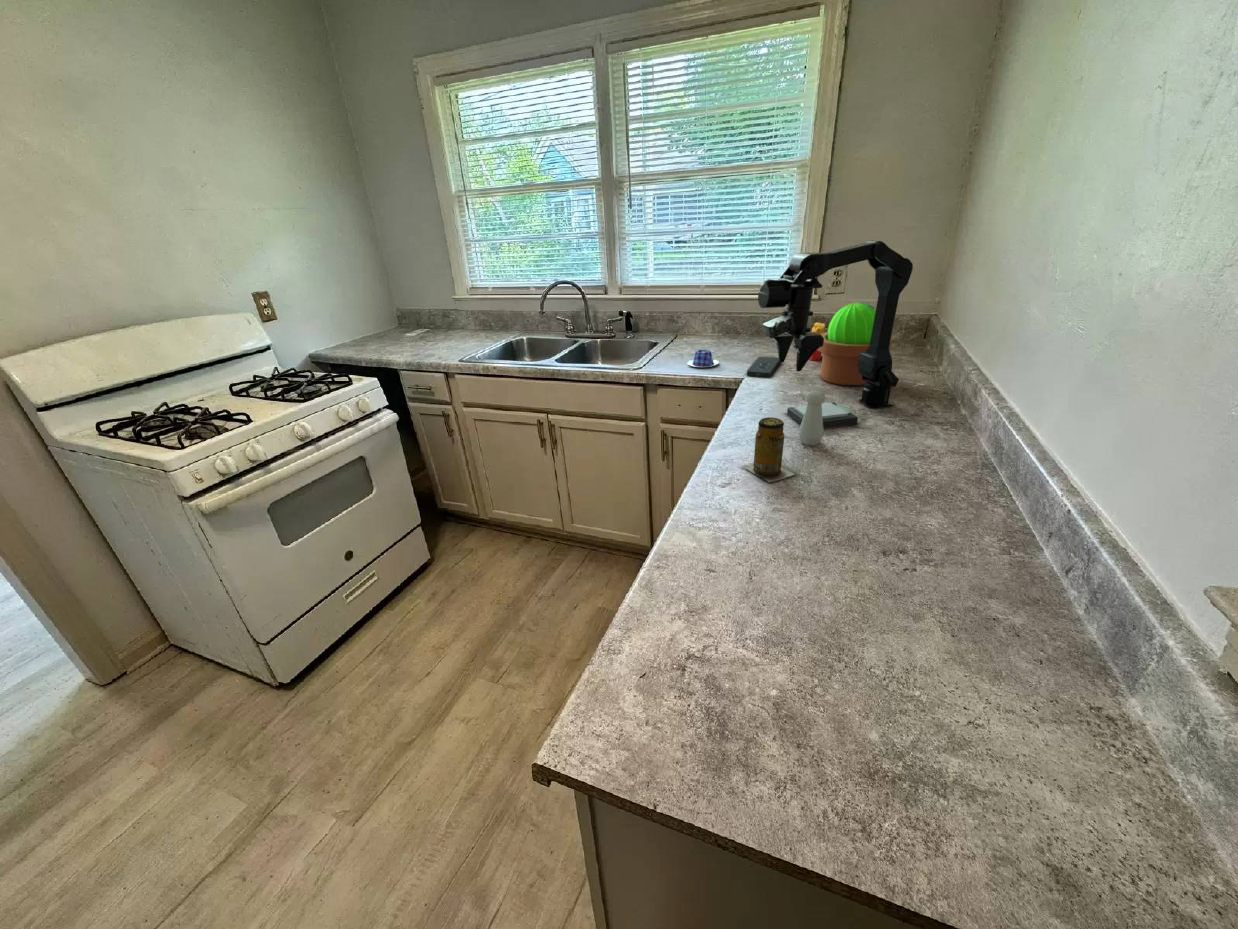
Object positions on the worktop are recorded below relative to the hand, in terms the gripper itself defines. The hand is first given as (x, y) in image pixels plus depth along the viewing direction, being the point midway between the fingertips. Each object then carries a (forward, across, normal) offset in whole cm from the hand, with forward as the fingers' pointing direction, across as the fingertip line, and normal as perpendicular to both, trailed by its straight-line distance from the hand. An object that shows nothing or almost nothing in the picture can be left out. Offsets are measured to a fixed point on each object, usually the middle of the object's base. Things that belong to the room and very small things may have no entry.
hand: (789, 366), depth 133 cm
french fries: (+12, -50, +39) cm, 64 cm away
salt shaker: (+15, +18, -2) cm, 23 cm away
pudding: (+15, -58, -2) cm, 60 cm away
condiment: (+16, +29, -18) cm, 38 cm away
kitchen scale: (+14, +5, +9) cm, 17 cm away
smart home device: (+14, -45, +16) cm, 49 cm away
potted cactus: (+13, -24, +36) cm, 45 cm away
